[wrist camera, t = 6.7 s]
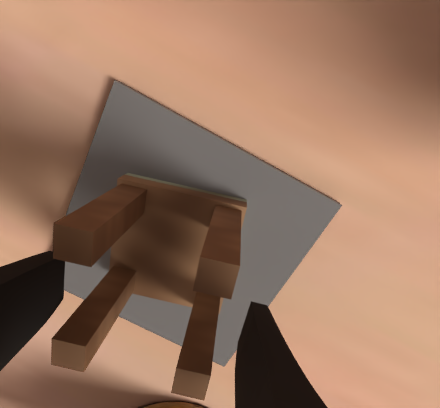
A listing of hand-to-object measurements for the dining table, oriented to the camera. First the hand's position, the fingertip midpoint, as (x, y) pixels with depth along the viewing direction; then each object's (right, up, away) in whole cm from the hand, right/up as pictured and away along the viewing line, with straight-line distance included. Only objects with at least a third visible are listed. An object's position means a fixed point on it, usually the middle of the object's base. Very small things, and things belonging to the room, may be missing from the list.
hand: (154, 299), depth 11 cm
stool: (0, +2, +4) cm, 5 cm away
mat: (0, +1, +5) cm, 5 cm away
